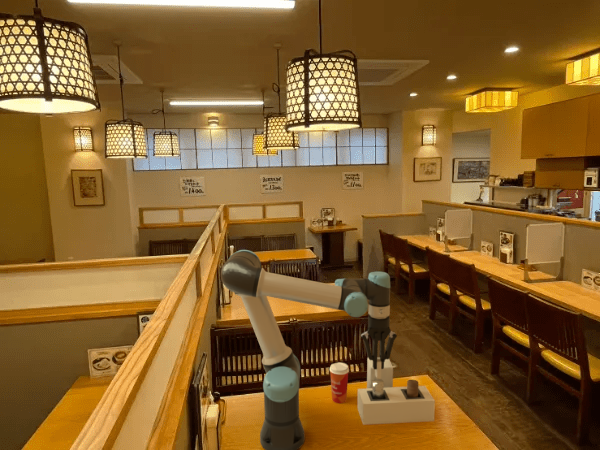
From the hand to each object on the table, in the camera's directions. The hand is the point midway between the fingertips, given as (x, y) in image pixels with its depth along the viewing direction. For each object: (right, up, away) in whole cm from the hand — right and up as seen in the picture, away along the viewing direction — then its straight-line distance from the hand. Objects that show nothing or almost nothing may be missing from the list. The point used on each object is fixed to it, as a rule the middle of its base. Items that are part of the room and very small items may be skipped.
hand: (378, 376), depth 151 cm
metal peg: (0, -10, +1) cm, 10 cm away
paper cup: (-13, -14, +13) cm, 23 cm away
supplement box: (+3, -14, +14) cm, 20 cm away
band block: (+7, -15, +3) cm, 17 cm away
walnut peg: (+13, -10, +2) cm, 17 cm away
